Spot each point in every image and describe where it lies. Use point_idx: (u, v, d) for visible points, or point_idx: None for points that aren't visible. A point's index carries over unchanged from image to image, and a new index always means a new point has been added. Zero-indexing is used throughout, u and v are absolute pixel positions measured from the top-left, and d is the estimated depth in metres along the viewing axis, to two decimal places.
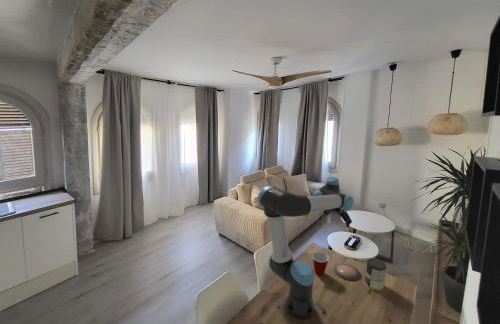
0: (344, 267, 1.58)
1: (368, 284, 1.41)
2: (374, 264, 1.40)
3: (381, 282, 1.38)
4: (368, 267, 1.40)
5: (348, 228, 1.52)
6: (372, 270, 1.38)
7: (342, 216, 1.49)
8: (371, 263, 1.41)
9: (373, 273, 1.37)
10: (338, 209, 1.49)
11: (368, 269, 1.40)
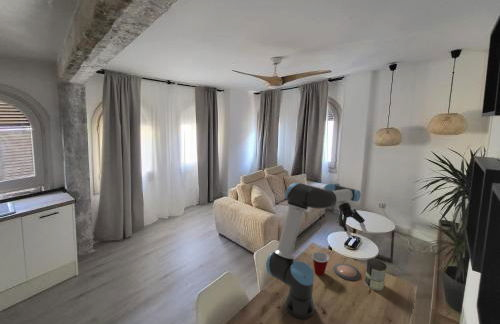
0: (344, 267, 1.58)
1: (368, 284, 1.41)
2: (374, 264, 1.40)
3: (381, 282, 1.38)
4: (368, 267, 1.40)
5: None
6: (372, 270, 1.38)
7: (356, 216, 1.60)
8: (371, 263, 1.41)
9: (373, 273, 1.37)
10: (351, 210, 1.62)
11: (368, 269, 1.40)
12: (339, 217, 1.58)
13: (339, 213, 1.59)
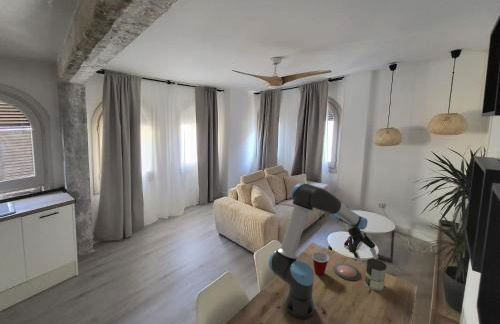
0: (344, 267, 1.58)
1: (368, 284, 1.41)
2: (374, 264, 1.40)
3: (381, 282, 1.38)
4: (368, 267, 1.40)
5: None
6: (372, 270, 1.38)
7: (367, 241, 1.54)
8: (371, 263, 1.41)
9: (373, 273, 1.37)
10: (361, 235, 1.55)
11: (368, 269, 1.40)
12: (349, 242, 1.51)
13: (349, 238, 1.52)
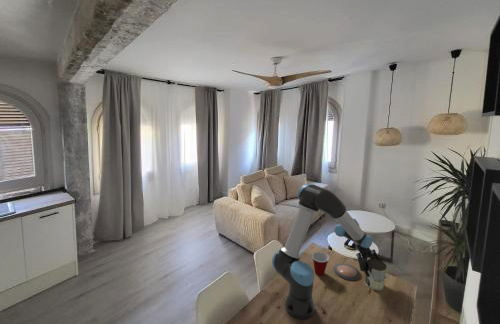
0: (344, 267, 1.58)
1: (368, 284, 1.41)
2: (374, 264, 1.40)
3: (381, 282, 1.38)
4: (368, 267, 1.40)
5: None
6: (372, 270, 1.38)
7: (376, 258, 1.46)
8: (371, 263, 1.41)
9: (373, 273, 1.37)
10: (370, 250, 1.48)
11: (368, 269, 1.40)
12: (358, 260, 1.44)
13: (358, 255, 1.45)
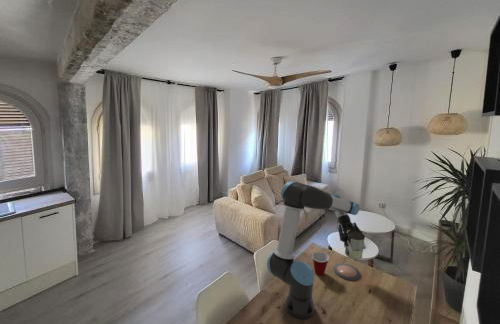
0: (344, 267, 1.58)
1: (347, 254, 1.48)
2: (354, 235, 1.47)
3: (359, 251, 1.44)
4: (347, 237, 1.47)
5: (363, 247, 1.50)
6: (351, 240, 1.44)
7: (356, 230, 1.53)
8: (350, 234, 1.48)
9: (352, 242, 1.44)
10: (350, 223, 1.55)
11: (347, 239, 1.47)
12: (339, 231, 1.51)
13: (338, 227, 1.52)
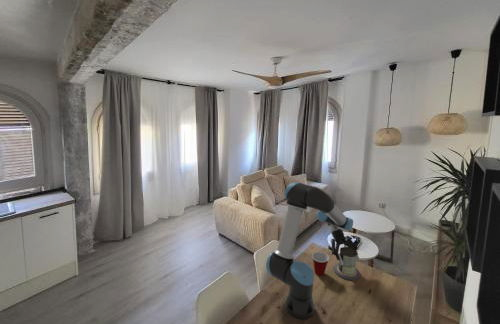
0: None
1: (340, 270, 1.52)
2: (346, 251, 1.51)
3: (352, 268, 1.48)
4: (340, 254, 1.52)
5: None
6: (344, 256, 1.49)
7: (349, 243, 1.58)
8: (343, 250, 1.52)
9: (345, 259, 1.48)
10: (344, 237, 1.59)
11: None
12: (332, 245, 1.55)
13: (332, 240, 1.56)
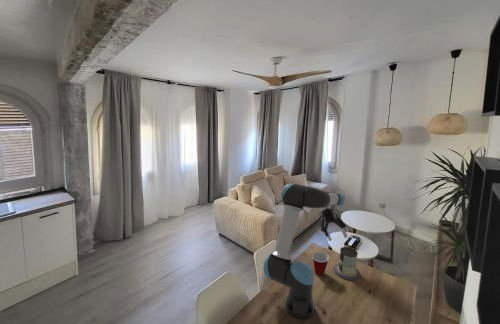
0: None
1: (340, 270, 1.52)
2: (347, 251, 1.51)
3: (352, 268, 1.48)
4: (341, 254, 1.51)
5: None
6: (344, 256, 1.49)
7: (338, 222, 1.67)
8: (344, 250, 1.52)
9: (345, 259, 1.48)
10: (333, 216, 1.69)
11: (341, 256, 1.51)
12: (321, 222, 1.65)
13: (321, 219, 1.66)
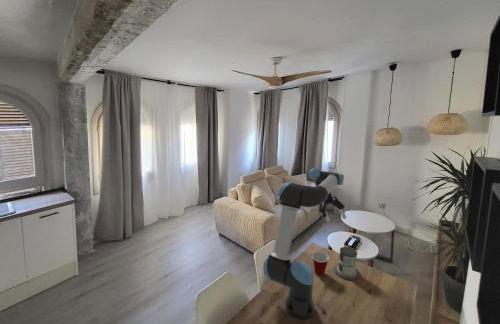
0: None
1: (340, 270, 1.52)
2: (346, 251, 1.51)
3: (352, 268, 1.48)
4: (340, 254, 1.52)
5: None
6: (344, 256, 1.49)
7: (336, 203, 1.63)
8: (343, 250, 1.52)
9: (345, 259, 1.49)
10: (331, 197, 1.65)
11: (340, 256, 1.52)
12: (319, 203, 1.61)
13: None
